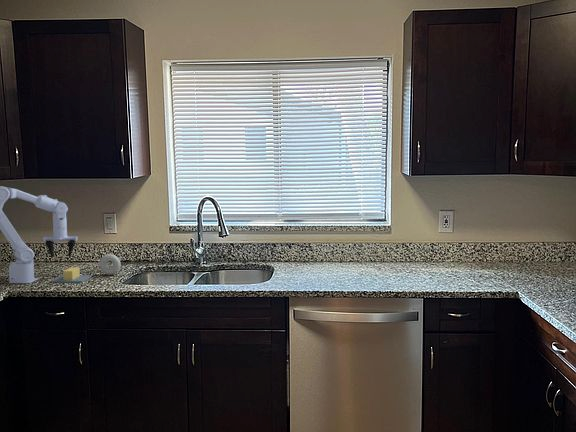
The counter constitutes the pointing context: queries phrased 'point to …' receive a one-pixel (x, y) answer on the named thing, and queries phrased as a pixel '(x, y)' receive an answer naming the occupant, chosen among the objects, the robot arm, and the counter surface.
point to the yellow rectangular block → (71, 273)
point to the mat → (76, 280)
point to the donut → (114, 260)
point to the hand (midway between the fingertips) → (61, 256)
